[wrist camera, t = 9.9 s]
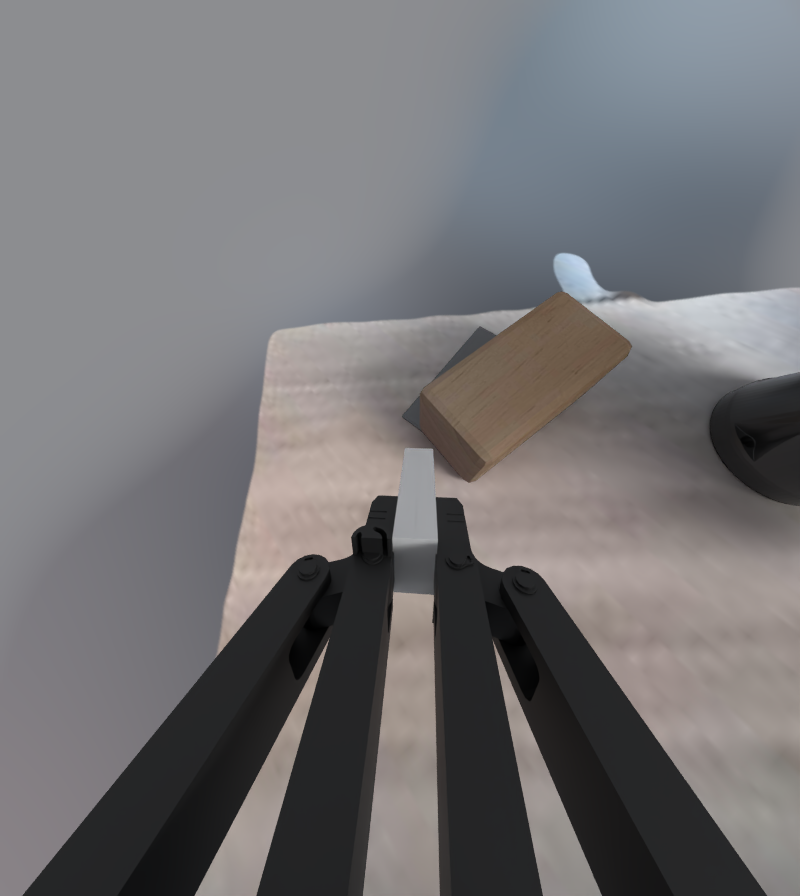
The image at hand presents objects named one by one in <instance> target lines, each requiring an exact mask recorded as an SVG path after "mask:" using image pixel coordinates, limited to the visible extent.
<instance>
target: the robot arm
mask: <svg viewBox="0 0 800 896" xmlns="http://www.w3.org/2000/svg"><path fill="white" fill-rule="evenodd" d="M710 428H711V436H712V440H713V443H714V445H715V448H716V450H717V452H718V454H719V456H720V457H721V459H722V460H723V462H724V463H725V464H726V466H727V467H728V468H729V469H730V470H731V471H732V472H733V474H735V475H736V476H737V477H738V478H739V479H740V480H741V481H742V482H744V483H745V484H746V485H748V486H749V487H751V488H752V489H754V490H755V491H757V492H759V493H761V494H762V495H764V496H767V497H769V498H771V499H774V500H776V501H779V502H783V503H786V504H790V505H796V506H800V372H798V373H794V374H789V375H784V376H780V377H776V378H768V379H762V380H759V381H756V382H753V383H750V384H748V385H746V386H744V387H741V388H739V389H737V390H735V391H733V392H731V393H729V394H727V395H726V396H725V397H723V398H722V399H721V400H720V401H719V402H718V404H717V405H716V407H715V408H714V411H713V413H712V417H711V424H710ZM351 539H352V548H353V554H352V555H351V556H349V557H347V558H345V559H341V560H337V561H333V562H328V561H327V559H326V558H325V557H323V556H321V555H314V554H312V555H307V556H304V557H302V558H300V559H298V560H297V561H296V562H294V563H293V564H292V565H291V566H290V568H289V569H288V570H287V571H286V573H285V574H284V575H283V576H282V577H281V579H280V580H279V581H278V582H277V584H276V585H275V586H274V587H273V588H272V590H271V591H270V592H269V593H268V595H267V596H266V597H265V598H264V600H263V601H262V602H261V603H260V604H259V606H258V607H257V608H256V609H255V611H254V612H253V613H252V614H251V616H250V617H249V618H248V619H247V620H246V622H245V623H244V624H243V625H242V627H241V628H240V629H239V630H238V631H237V633H236V634H235V635H234V636H233V638H232V639H231V640H230V641H229V643H228V644H227V645H226V646H225V647H224V649H223V650H222V651H221V652H220V654H219V655H218V656H217V657H216V658H215V660H214V661H213V662H212V663H211V665H210V666H209V667H208V668H207V670H206V671H205V672H204V673H203V674H202V676H201V677H200V678H199V679H198V681H197V682H196V683H195V684H194V686H193V687H192V688H191V689H190V690H189V692H188V693H187V694H186V696H185V697H184V698H183V699H182V700H181V702H180V703H179V704H178V705H177V706H176V708H175V709H174V710H173V711H172V713H171V714H170V715H169V716H168V718H167V719H166V720H165V721H164V723H163V724H162V725H161V726H160V727H159V729H158V730H157V731H156V732H155V734H154V735H153V736H152V737H151V738H150V740H149V741H148V742H147V743H146V744H145V746H144V747H143V748H142V750H141V751H140V752H139V753H138V754H137V756H136V757H135V758H134V759H133V760H132V762H131V763H130V764H129V765H128V767H127V768H126V769H125V770H124V772H123V773H122V774H121V775H120V776H119V778H118V779H117V780H116V781H115V783H114V784H113V785H112V786H111V788H110V789H109V790H108V791H107V792H106V794H105V795H104V796H103V797H102V799H101V800H100V801H99V802H98V803H97V805H96V806H95V807H94V809H93V810H92V811H91V812H90V813H89V815H88V816H87V817H86V818H85V819H84V821H83V822H82V823H81V824H80V826H79V827H78V828H77V829H76V831H75V832H74V833H73V834H72V835H71V837H70V838H69V839H68V840H67V842H66V843H65V844H64V845H63V846H62V848H61V849H60V850H59V851H58V853H57V854H56V855H55V856H54V858H53V859H52V860H51V861H50V862H49V864H48V865H47V866H46V867H45V869H44V870H43V871H42V872H41V873H40V875H39V876H38V877H37V879H36V880H35V881H34V882H33V883H32V885H31V886H30V887H29V888H28V889H27V891H26V892H25V893H24V894H23V896H194V895H195V894H196V892H197V890H198V888H199V886H200V884H201V882H202V880H203V878H204V876H205V874H206V873H207V871H208V869H209V867H210V865H211V863H212V861H213V859H214V857H215V855H216V853H217V852H218V850H219V848H220V846H221V844H222V842H223V840H224V838H225V836H226V834H227V832H228V831H229V829H230V827H231V825H232V823H233V821H234V819H235V817H236V815H237V813H238V811H239V809H240V808H241V806H242V804H243V802H244V800H245V798H246V796H247V794H248V792H249V790H250V788H251V787H252V785H253V783H254V781H255V779H256V777H257V775H258V773H259V771H260V769H261V767H262V766H263V764H264V762H265V760H266V758H267V756H268V754H269V752H270V750H271V748H272V746H273V745H274V743H275V741H276V739H277V737H278V735H279V733H280V731H281V729H282V727H283V725H284V724H285V722H286V720H287V718H288V716H289V714H290V712H291V710H292V708H293V706H294V704H295V703H296V701H297V699H298V697H299V695H300V693H301V691H302V689H303V687H304V685H305V683H306V681H307V680H308V678H309V676H310V674H311V672H312V670H313V668H314V666H315V664H316V662H317V660H318V659H319V657H320V655H321V653H322V651H323V649H324V647H325V645H326V643H327V641H328V639H329V638H330V639H329V642H328V646H327V649H326V653H325V656H324V660H323V663H322V667H321V670H320V674H319V677H318V681H317V684H316V688H315V692H314V695H313V699H312V702H311V706H310V709H309V713H308V716H307V720H306V723H305V727H304V730H303V734H302V737H301V741H300V744H299V748H298V751H297V755H296V758H295V762H294V765H293V769H292V772H291V776H290V779H289V783H288V786H287V790H286V794H285V797H284V801H283V804H282V808H281V811H280V815H279V818H278V822H277V825H276V829H275V832H274V836H273V839H272V843H271V846H270V850H269V853H268V857H267V860H266V864H265V867H264V871H263V874H262V878H261V881H260V885H259V888H258V892H257V896H363V888H364V878H365V869H366V859H367V850H368V840H369V831H370V821H371V811H372V802H373V792H374V783H375V773H376V764H377V754H378V744H379V735H380V725H381V716H382V706H383V697H384V687H385V678H386V668H387V658H388V649H389V639H390V630H391V620H392V611H393V590H394V592H402V593H416V594H431V595H434V607H433V621H432V623H434V660H435V703H436V746H437V790H438V833H439V877H440V896H543V894H542V889H541V884H540V879H539V873H538V868H537V863H536V858H535V853H534V848H533V843H532V838H531V833H530V828H529V823H528V818H527V813H526V808H525V802H524V797H523V792H522V787H521V782H520V777H519V772H518V767H517V762H516V757H515V752H514V747H513V742H512V737H511V731H510V726H509V721H508V716H507V711H506V706H505V701H504V696H503V691H502V686H501V681H500V676H499V671H498V666H497V660H496V655H495V650H494V645H493V641H494V644H495V646H496V648H497V651H498V653H499V655H500V658H501V660H502V662H503V665H504V667H505V669H506V672H507V674H508V677H509V679H510V681H511V684H512V686H513V688H514V691H515V693H516V695H517V698H518V700H519V702H520V705H521V707H522V709H523V712H524V714H525V716H526V719H527V721H528V723H529V726H530V728H531V730H532V733H533V735H534V737H535V740H536V742H537V744H538V747H539V749H540V751H541V754H542V756H543V758H544V761H545V763H546V765H547V768H548V770H549V773H550V775H551V777H552V780H553V782H554V784H555V787H556V789H557V791H558V794H559V796H560V798H561V801H562V803H563V805H564V808H565V810H566V812H567V815H568V817H569V819H570V822H571V824H572V826H573V829H574V831H575V833H576V836H577V838H578V840H579V843H580V845H581V847H582V850H583V852H584V854H585V857H586V859H587V861H588V864H589V866H590V869H591V871H592V873H593V876H594V878H595V880H596V883H597V885H598V887H599V890H600V892H601V894H602V896H767V895H766V894H765V892H764V891H763V889H762V888H761V886H760V885H759V884H758V882H757V881H756V879H755V878H754V877H753V875H752V874H751V872H750V871H749V869H748V868H747V867H746V865H745V864H744V862H743V861H742V860H741V858H740V857H739V855H738V854H737V852H736V851H735V850H734V848H733V847H732V845H731V844H730V843H729V841H728V840H727V838H726V837H725V835H724V834H723V833H722V831H721V830H720V828H719V827H718V826H717V824H716V823H715V821H714V820H713V818H712V817H711V816H710V814H709V813H708V811H707V810H706V809H705V807H704V806H703V804H702V803H701V801H700V800H699V799H698V797H697V796H696V794H695V793H694V792H693V790H692V789H691V787H690V786H689V784H688V783H687V782H686V780H685V779H684V777H683V776H682V775H681V773H680V772H679V770H678V769H677V767H676V766H675V765H674V763H673V762H672V760H671V759H670V758H669V756H668V755H667V753H666V752H665V750H664V749H663V748H662V746H661V745H660V743H659V742H658V741H657V739H656V738H655V736H654V735H653V734H652V732H651V731H650V729H649V728H648V726H647V725H646V724H645V722H644V721H643V719H642V718H641V717H640V715H639V714H638V712H637V711H636V709H635V708H634V707H633V705H632V704H631V702H630V701H629V700H628V698H627V697H626V695H625V694H624V692H623V691H622V690H621V688H620V687H619V685H618V684H617V683H616V681H615V680H614V678H613V677H612V675H611V674H610V673H609V671H608V670H607V668H606V667H605V666H604V664H603V663H602V661H601V660H600V658H599V657H598V656H597V654H596V653H595V651H594V650H593V649H592V647H591V646H590V644H589V643H588V641H587V640H586V639H585V637H584V636H583V634H582V633H581V632H580V630H579V629H578V627H577V626H576V624H575V623H574V622H573V620H572V619H571V617H570V616H569V615H568V613H567V612H566V610H565V609H564V607H563V606H562V605H561V603H560V602H559V600H558V599H557V598H556V596H555V595H554V593H553V592H552V590H551V589H550V588H549V586H548V585H547V583H546V582H545V581H544V579H543V578H542V577H541V576H540V575H539V574H538V573H536V572H534V571H533V570H531V569H529V568H526V567H523V566H512V567H509V568H507V569H506V570H505V571H504V572H501V571H498V570H495V569H492V568H489V567H487V566H485V565H483V564H482V563H480V562H479V561H478V560H477V559H476V558H475V556H474V555H473V554H472V551H471V548H470V542H469V537H468V531H467V526H466V521H465V516H464V510H463V505H462V504H461V503H460V502H459V500H458V499H457V498H441V497H436V494H435V475H434V457H433V449H424V448H405V452H404V459H403V466H402V473H401V480H400V487H399V494H398V496H377V498H376V499H375V500H374V501H373V502H372V504H371V508H370V512H369V515H368V519H367V523H366V525H365V526H362V527H360V528H358V529H357V530H356V531H355V532H354V533H353V535H352V537H351ZM492 639H493V640H492Z"/></svg>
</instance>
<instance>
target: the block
mask: <svg viewBox="0 0 800 896" xmlns="http://www.w3.org/2000/svg"><path fill="white" fill-rule="evenodd" d="M631 347H632V346H631V344H630V342H629V341H628V340H627V339H625V338H624V337H623V336H622V335H620V334H619V333H618V332H616V331H615V330H614V329H613V328H611V327H610V326H609V325H607V324H606V323H605V322H604V321H602V320H601V319H600V318H598V317H597V316H596V315H594V314H593V313H592V312H591V311H589V310H588V309H587V308H585V307H584V306H583V305H582V304H580V303H579V302H578V301H576V300H575V299H574V298H573V297H571V296H570V295H569V294H567V293H565V292H558V293H556V294H554V295H553V296H552V297H550V298H549V299H547V300H546V301H545V302H543V303H542V304H540V305H539V306H538V307H536V308H535V309H533V310H532V311H531V312H529V313H528V314H526V315H525V316H524V317H522V318H521V319H519V320H518V321H517V322H515V323H514V324H512V325H511V326H510V327H508V328H507V329H505V330H504V331H503V332H501V333H500V334H498V335H497V336H496V337H494V338H493V339H491V340H490V341H489V342H487V343H486V344H484V345H483V346H482V347H480V348H479V349H477V350H476V351H475V352H473V353H472V354H470V355H469V356H468V357H466V358H465V359H463V360H462V361H461V362H459V363H458V364H456V365H455V366H454V367H452V368H451V369H449V370H448V371H446V372H445V373H444V374H442V375H441V376H439V377H438V378H437V379H435V380H434V381H432V382H431V383H430V384H428V385H427V386H425V387H424V388H423V390H422V391H421V393H420V423H419V425H420V428H421V430H422V432H423V433H424V434H425V435H426V436H427V438H428V439H429V440H430V441H431V442H432V443H433V445H434V446H435V447H436V448H437V449H438V450H439V452H440V453H441V454H442V455H443V456H444V457H445V459H446V460H447V461H448V462H449V463H450V464H451V466H452V467H453V468H454V469H455V470H456V471H457V473H458V474H459V475H460V476H461V477H462V478H463V480H465V481H467V482H473V481H476V480H477V479H478V478H480V477H481V476H482V475H483V474H485V473H486V472H487V471H488V470H490V469H491V468H492V467H493V466H495V465H496V464H497V463H498V462H500V461H501V460H502V459H503V458H505V457H506V456H507V455H508V454H510V453H511V452H512V451H513V450H515V449H516V448H517V447H518V446H520V445H521V444H522V443H523V442H525V441H526V440H527V439H528V438H530V437H531V436H532V435H533V434H535V433H536V432H537V431H538V430H540V429H541V428H542V427H543V426H545V425H546V424H547V423H548V422H550V421H551V420H552V419H553V418H555V417H556V416H557V415H558V414H560V413H561V412H562V411H564V410H565V409H566V408H567V407H569V406H570V405H571V404H572V403H574V402H575V401H576V400H577V399H579V398H580V397H581V396H582V395H583V394H585V393H586V392H587V391H588V390H589V389H590V388H592V387H593V386H594V385H595V384H596V383H597V382H598V381H600V380H601V379H602V378H603V377H604V376H605V375H606V374H608V373H609V372H610V371H611V370H612V369H613V368H614V367H616V366H617V365H618V364H619V363H620V362H621V361H622V360H624V359H625V358H626V357H627V356H628V354H629V351H630V349H631Z"/></svg>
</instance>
